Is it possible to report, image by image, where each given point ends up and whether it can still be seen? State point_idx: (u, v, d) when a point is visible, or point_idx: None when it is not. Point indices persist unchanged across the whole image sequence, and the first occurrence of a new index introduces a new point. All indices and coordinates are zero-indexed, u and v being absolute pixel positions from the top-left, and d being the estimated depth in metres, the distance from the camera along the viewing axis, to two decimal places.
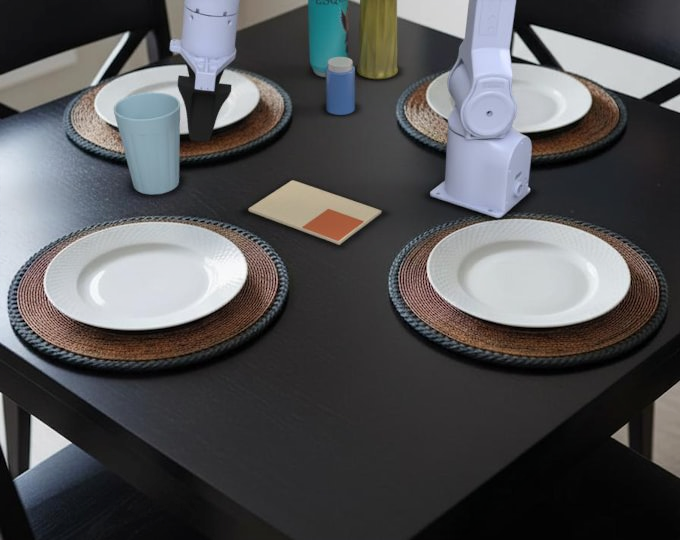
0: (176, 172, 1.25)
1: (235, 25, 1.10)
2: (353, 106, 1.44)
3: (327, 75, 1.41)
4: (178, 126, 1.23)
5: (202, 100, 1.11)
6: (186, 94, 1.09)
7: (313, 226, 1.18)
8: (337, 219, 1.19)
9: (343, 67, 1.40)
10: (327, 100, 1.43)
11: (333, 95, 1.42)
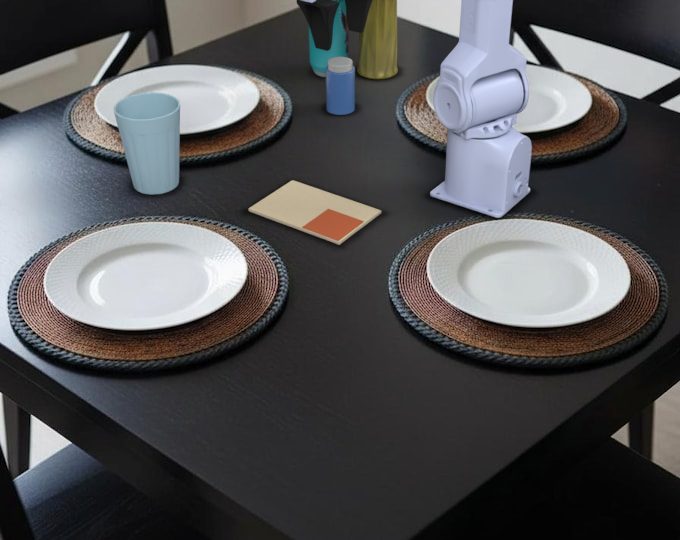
0: (176, 172, 1.25)
1: None
2: (353, 106, 1.44)
3: (327, 75, 1.41)
4: (178, 126, 1.23)
5: (319, 13, 1.34)
6: (301, 6, 1.33)
7: (313, 226, 1.18)
8: (337, 219, 1.19)
9: (343, 67, 1.40)
10: (327, 100, 1.43)
11: (333, 95, 1.42)
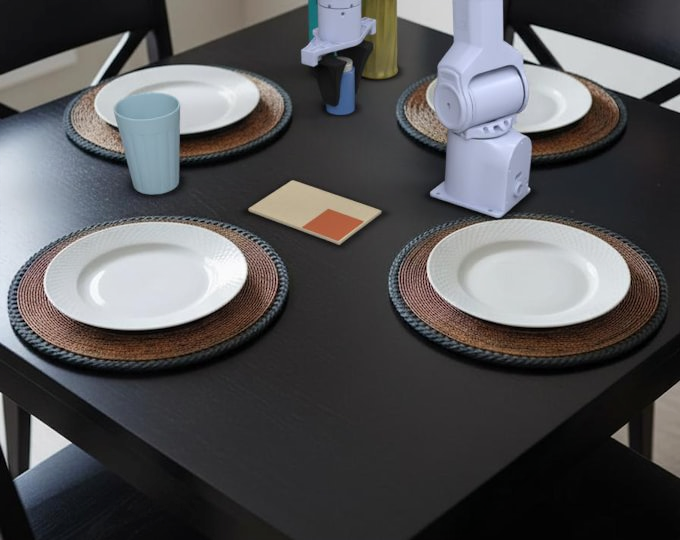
0: (176, 172, 1.25)
1: (351, 17, 1.35)
2: (353, 106, 1.44)
3: None
4: (178, 126, 1.23)
5: (327, 71, 1.40)
6: None
7: (313, 226, 1.18)
8: (337, 219, 1.19)
9: None
10: None
11: None
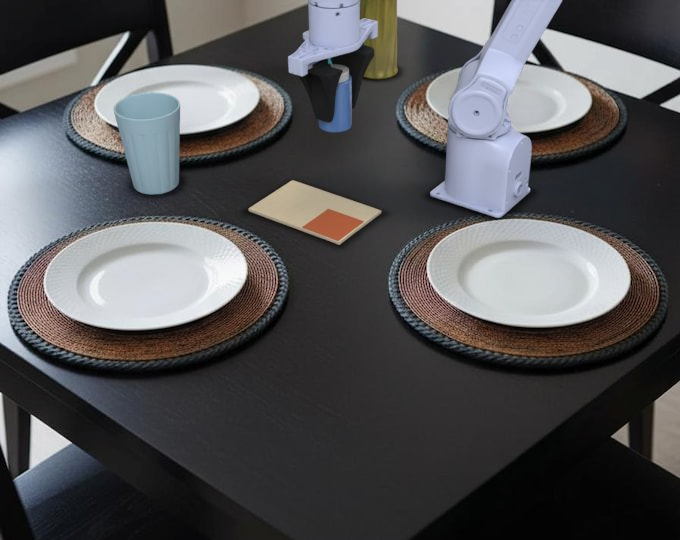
0: (176, 172, 1.25)
1: (348, 18, 1.14)
2: (350, 122, 1.23)
3: None
4: (178, 126, 1.23)
5: (319, 82, 1.19)
6: None
7: (313, 226, 1.18)
8: (337, 219, 1.19)
9: None
10: None
11: None
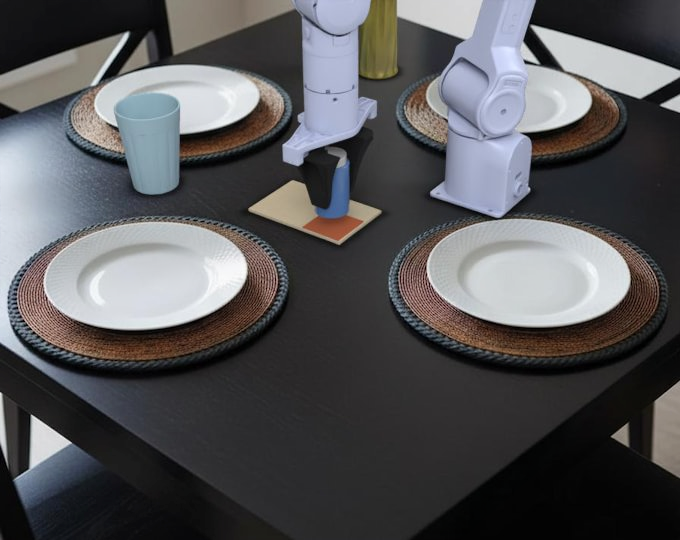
0: (176, 172, 1.25)
1: (346, 104, 1.07)
2: (347, 207, 1.16)
3: None
4: (178, 126, 1.23)
5: (316, 168, 1.12)
6: None
7: (313, 226, 1.18)
8: (337, 219, 1.19)
9: None
10: None
11: None
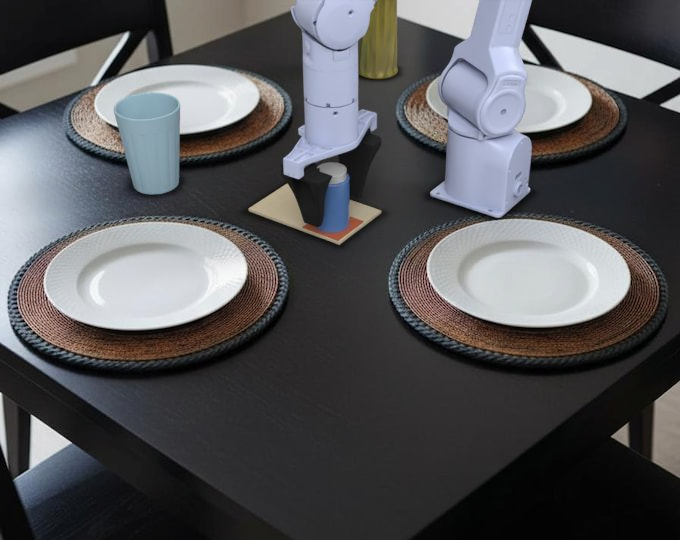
0: (176, 172, 1.25)
1: (346, 117, 1.08)
2: (347, 222, 1.17)
3: None
4: (178, 126, 1.23)
5: (308, 186, 1.11)
6: (286, 178, 1.11)
7: (313, 226, 1.18)
8: None
9: (335, 178, 1.13)
10: None
11: None
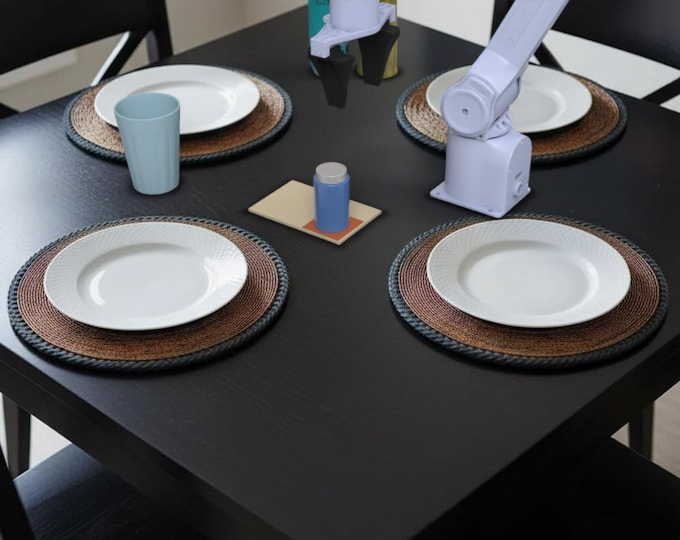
0: (176, 172, 1.25)
1: (368, 1, 1.17)
2: (347, 222, 1.17)
3: (315, 186, 1.14)
4: (178, 126, 1.23)
5: (332, 68, 1.21)
6: (313, 60, 1.20)
7: (313, 226, 1.18)
8: None
9: (335, 178, 1.13)
10: (315, 215, 1.17)
11: (323, 210, 1.15)
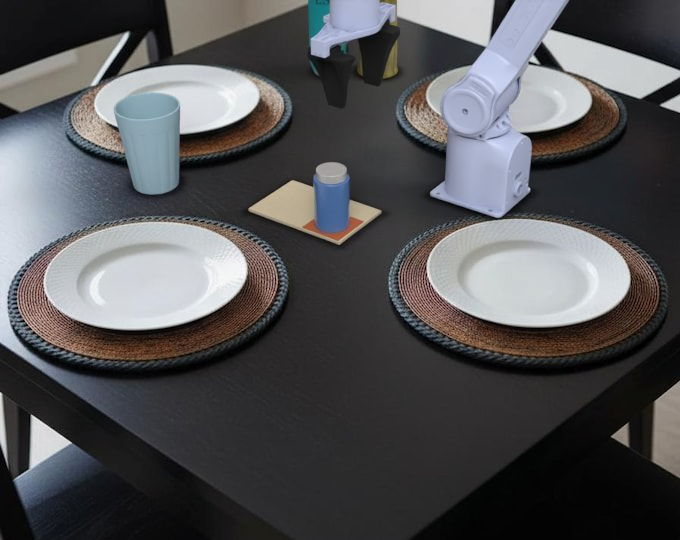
0: (176, 172, 1.25)
1: (368, 1, 1.17)
2: (347, 222, 1.17)
3: (315, 186, 1.14)
4: (178, 126, 1.23)
5: (332, 68, 1.21)
6: (313, 60, 1.20)
7: (313, 226, 1.18)
8: None
9: (335, 178, 1.13)
10: (315, 215, 1.17)
11: (323, 210, 1.15)
